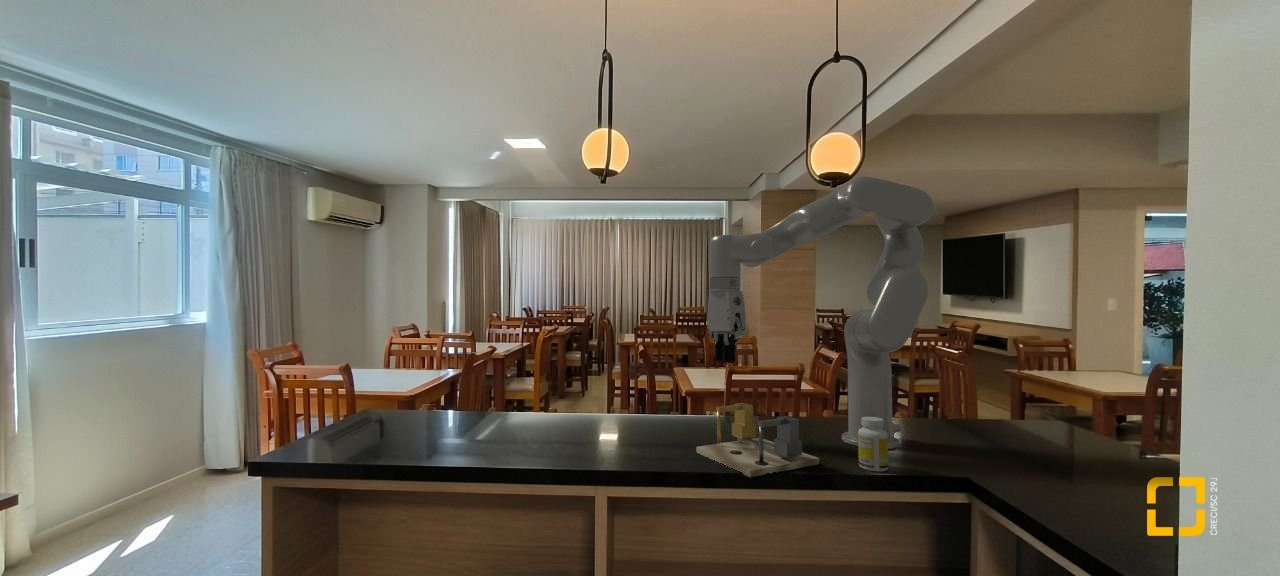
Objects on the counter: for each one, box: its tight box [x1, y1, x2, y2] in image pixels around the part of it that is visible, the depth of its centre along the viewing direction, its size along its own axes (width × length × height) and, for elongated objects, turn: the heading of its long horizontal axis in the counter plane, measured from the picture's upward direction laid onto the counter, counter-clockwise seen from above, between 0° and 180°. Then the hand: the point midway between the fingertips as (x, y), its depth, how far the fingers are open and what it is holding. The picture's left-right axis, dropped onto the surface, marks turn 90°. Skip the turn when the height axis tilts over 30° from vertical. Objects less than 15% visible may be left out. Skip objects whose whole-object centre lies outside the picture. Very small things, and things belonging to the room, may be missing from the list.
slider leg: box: [715, 402, 757, 444], centre depth 111 cm, size 9×4×8 cm, turn 117°
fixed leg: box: [757, 415, 803, 463], centre depth 98 cm, size 9×4×8 cm, turn 117°
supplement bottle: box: [857, 417, 889, 473], centre depth 98 cm, size 5×5×10 cm
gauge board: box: [695, 437, 820, 478], centre depth 104 cm, size 18×18×2 cm
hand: (725, 360), depth 119 cm, fingers open, 2 cm apart
